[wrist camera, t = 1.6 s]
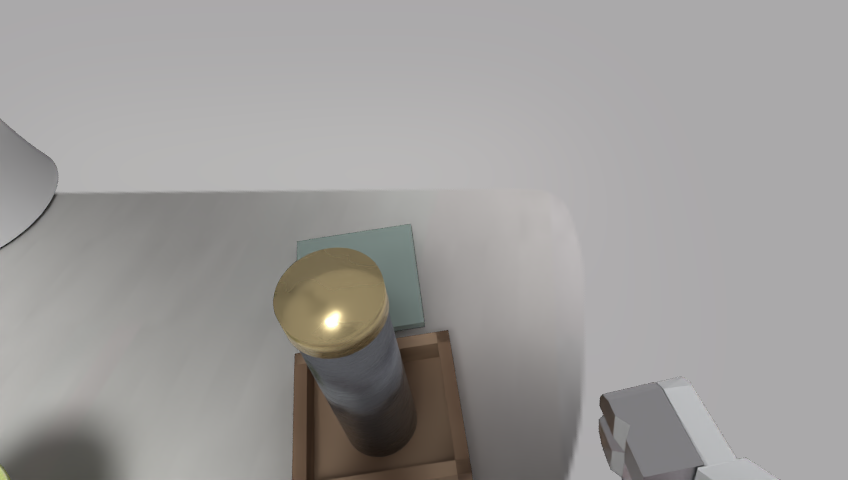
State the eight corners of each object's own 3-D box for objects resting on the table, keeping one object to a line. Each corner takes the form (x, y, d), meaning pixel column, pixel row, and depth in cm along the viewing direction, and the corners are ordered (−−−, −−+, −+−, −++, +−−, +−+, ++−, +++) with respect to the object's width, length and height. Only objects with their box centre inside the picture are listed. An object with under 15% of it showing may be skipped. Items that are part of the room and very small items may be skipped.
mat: (297, 346, 41) (295, 342, 40) (299, 246, 47) (297, 241, 46) (425, 326, 41) (424, 322, 40) (411, 228, 47) (410, 223, 46)
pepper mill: (344, 465, 35) (270, 350, 24) (341, 390, 38) (275, 256, 27) (423, 452, 35) (388, 331, 24) (414, 378, 38) (379, 240, 27)
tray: (303, 511, 34) (291, 500, 32) (304, 371, 40) (294, 353, 38) (473, 485, 34) (471, 472, 32) (450, 348, 40) (448, 330, 38)
